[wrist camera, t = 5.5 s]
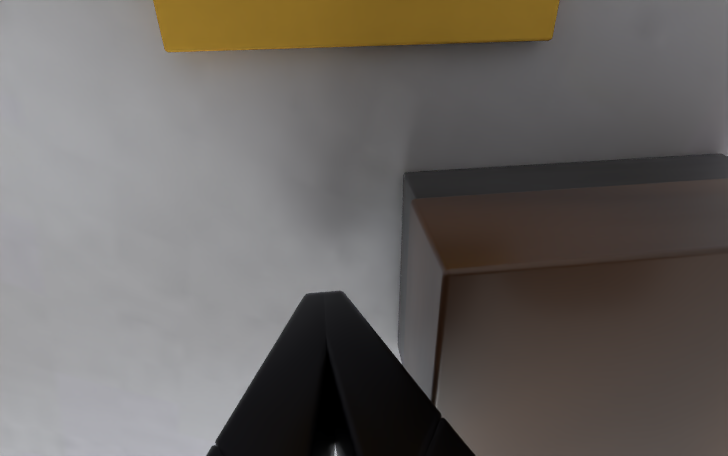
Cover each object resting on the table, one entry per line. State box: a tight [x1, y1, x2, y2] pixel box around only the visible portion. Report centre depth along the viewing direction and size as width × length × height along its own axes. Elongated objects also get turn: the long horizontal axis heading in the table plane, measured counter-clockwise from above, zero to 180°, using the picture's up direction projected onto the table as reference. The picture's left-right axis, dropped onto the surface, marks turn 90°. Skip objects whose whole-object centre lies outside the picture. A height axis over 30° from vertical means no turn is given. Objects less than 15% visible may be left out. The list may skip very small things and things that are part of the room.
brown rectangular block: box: [398, 154, 728, 456], centre depth 8 cm, size 7×5×4 cm
